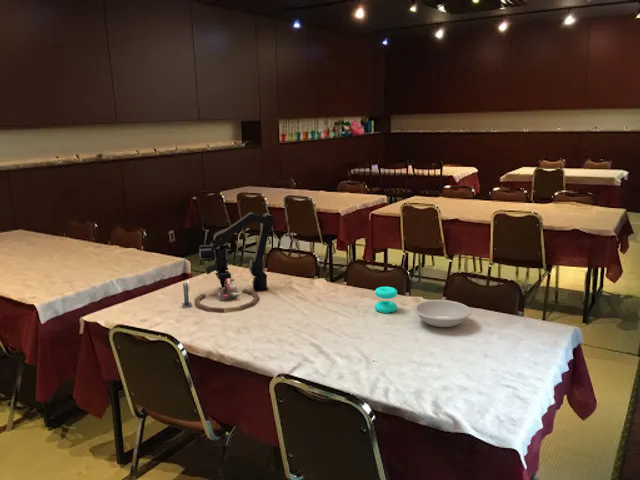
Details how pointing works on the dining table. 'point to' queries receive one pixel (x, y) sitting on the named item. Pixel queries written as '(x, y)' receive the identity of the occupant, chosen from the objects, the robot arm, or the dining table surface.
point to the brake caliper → (228, 291)
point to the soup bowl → (442, 312)
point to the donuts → (386, 294)
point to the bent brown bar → (228, 309)
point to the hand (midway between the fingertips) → (222, 287)
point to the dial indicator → (186, 295)
